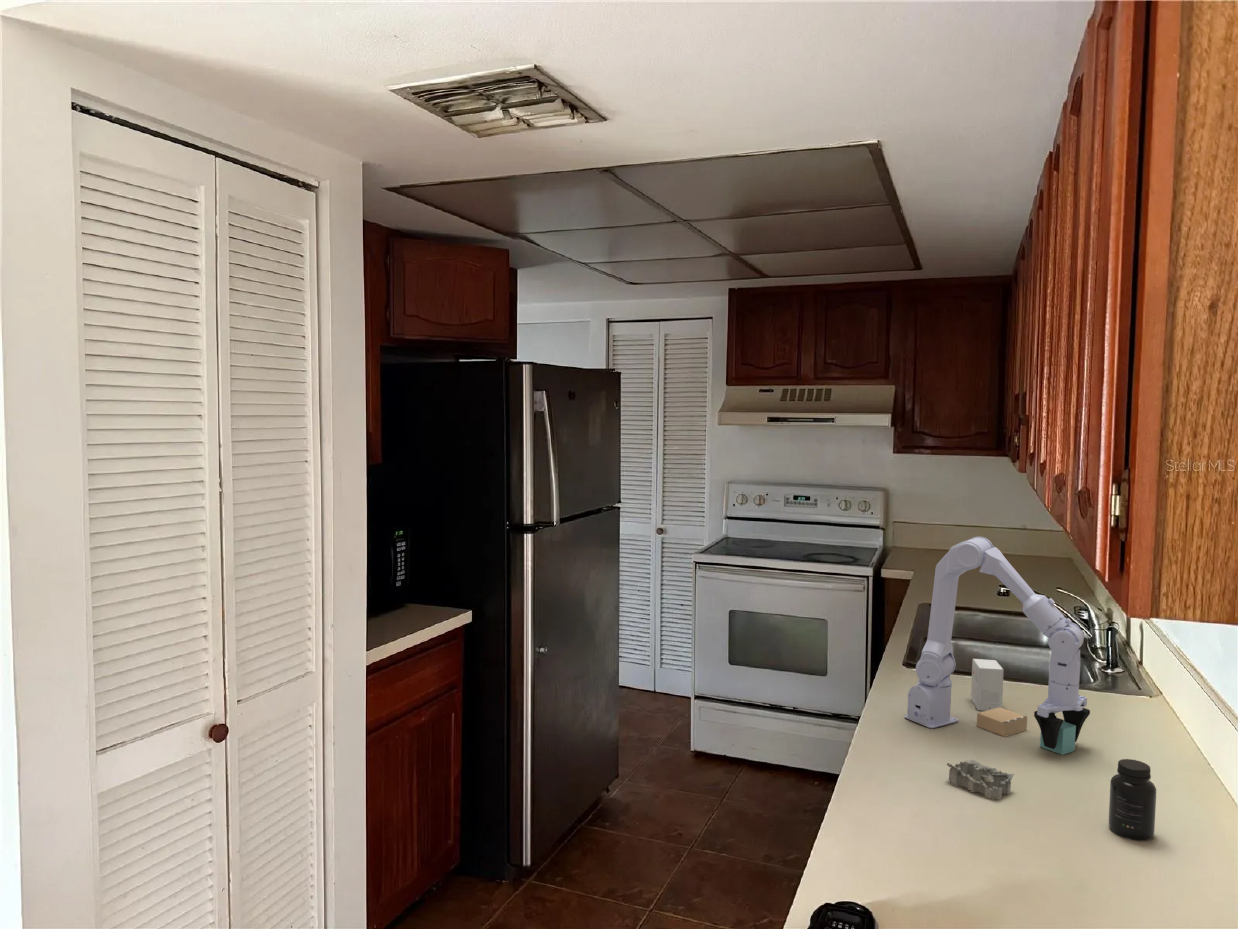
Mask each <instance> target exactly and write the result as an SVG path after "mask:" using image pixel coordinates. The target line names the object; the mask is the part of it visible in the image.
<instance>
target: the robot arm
mask: <svg viewBox="0 0 1238 929" xmlns="http://www.w3.org/2000/svg"><path fill="white" fill-rule="evenodd" d="M978 567H980V569H979V570H978V572H979V573H983V574H987V575H991V576H995V577H996V578H997V579H998V580H999V581H1000V582H1001V583H1002V584H1003V585H1004V586H1005V587H1006V588H1007V589H1008V590H1009V591H1010V592H1011V593H1012V594H1013V595H1014V596H1015V597H1016V598H1017V599H1018V600H1019V602H1021V603H1022V612H1023V614H1024V615H1025V616H1026V617H1027V618H1028V620H1030V621H1031V623H1033V625H1034V626H1035V627H1036V628H1037V629H1038V630H1039V632H1041V633H1042V635H1043V636H1045V637H1046V638H1047V645H1048V646H1049V649H1050V650H1051V651H1050V658H1049V671H1048V672H1049V673H1048V685H1047V686H1048V688H1047V689H1048V690H1047V698H1046V699H1045V700H1044V701H1043V702H1042V703H1041V704H1040V705H1037V710H1035V711H1034V712H1033V717H1034V719H1035V720H1036V722H1037V724H1038V726H1039V729H1040V734H1041V733H1042V737H1043V742H1044V746H1046V747H1048V748H1051V749H1055V747H1056V744H1057V738H1058V733H1059V730H1060V727H1061V725H1062V723H1063V722H1067V723H1070V724H1073V725H1076V733H1075V743H1077V741H1078V738H1079V735H1080V733H1081V729H1082V728H1083V726H1084V724H1085V722H1086V720H1087V718H1088V717H1089V716H1090V714H1091V710H1090V709H1088V708H1086V707H1087V705H1088V697H1086V696H1083V695H1082V694H1081V695H1080V694H1079V692H1080V689H1079V688H1080V676H1081V649H1080V648H1081V646H1082V645H1083V644H1084V639H1085V636H1084V633H1083V631H1082V629H1081V628H1080V626H1079V625H1078V624H1077V623H1074V622H1072V620H1071V619H1070V618H1069V617H1065V616H1064V615H1063V614H1062V612H1061V611H1060V610H1059V609H1058V608H1057V606H1055V605H1054V604H1056V602H1055V601H1054V599H1053V598H1051V597H1050V598H1048V597H1047V596H1046V595H1043V594H1037V593H1035V591H1034V590H1033V589H1032V588H1031V587H1030V586H1029V585H1028V583H1027V582H1026V580H1024V579H1023V577H1022V576H1021V575H1020V574H1019V573H1018V572H1017V570H1016V569H1015V568H1014V567H1013V565H1012V564H1011V563H1010V562H1009V560H1007V559H1006V557H1005V556H1004V555H1003V553H1002V552H1001V551H1000V549H999V548H997V547H996V546H994V545H993V543H992V541H990V540H989V539H988V538H986V537H983V536H974V537H971V538H969V539H967V540H964V541H961V542H959V543H957V544H955V545H952V546H951V547H950V548H949V550H948V552H947V553H946V554H945V555H943V557H942V558H941V559H940V561H938V563H936V565H935V570H934V571H935V572H934V579H933V589H932V594H931V595H932V598H931V603H930V604H931V605H930V613H929V614H930V615H929V620H928V621H929V623H928V631H927V638H926V642H925V644H924V646H923V648H922V650H921V656H920V658H919V660H918V661H917V663H916V665H915V673H916V676H917V678H918V680H917V683H916V684H915V685H912V687H910V689H909V690H908V694H907V710H906V714H905V715H903V717H904V718H905V719H908V720H910V721H912V722H914V723H917V724H919V725H922V726H924V727H927V728H929V729H935V728H939V727H942V726H947V725H951V724H954V723H958V722H959V718H956V717H955V716H954V717H953V716H951V709H952V708H951V706H952V705H951V704H952V679H951V674H953V673H954V671H955V669H956V660H955V657H954V645H953V643H952V637H953V628H954V620H955V612H956V611H955V610H956V602H957V597H958V596H957V595H958V594H957V593H958V587H959V580H960V579H959V578H960V576H961V575H963V574H965V573H966V572H967V571H971V570H975V569H977V568H978ZM1060 712H1062V716H1063V719H1062V718H1059V717H1057V715H1056V714H1057V713H1060Z"/></svg>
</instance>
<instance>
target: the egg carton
mask: <svg viewBox="0 0 1238 929" xmlns="http://www.w3.org/2000/svg"><path fill="white" fill-rule="evenodd" d="M946 766H948V767H949V768H950V769H949V771H948V772H949V773H948V781H949V780H950V781H949V782H950V783H951V785H953V784H954V785H953V786H955V785H961V787H965V788H967V791H968V790H970V791H969V792H971V791H973V792H972V793H980V792H981V793H980V794H983V795H984V797H985V798H986V797H987V798H986V799H991V800H992V799H996V800H1001V799H1002V796H1003V794H1004V795H1009V794H1011V792H1012V791H1011V787H1012V785H1011V784H1012V780H1013V777H1014V775H1015V773H1007V772H1002V771H1001V770H999V771H998V770H997V768H996V767H990V766H987V765H984V764H982V763H980V762H978V761H976V760H973V759H969V760H964V761H960V762H959V763H956V764H955V765H953V764H952V763H950V762H949V763H948V762H947V763H946ZM971 777H972V778H971ZM972 779H973V780H972ZM974 780H975V781H974Z"/></svg>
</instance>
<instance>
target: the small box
mask: <svg viewBox="0 0 1238 929" xmlns="http://www.w3.org/2000/svg"><path fill="white" fill-rule="evenodd" d="M971 664H972V666H971V691H970V692H971V693H970V700H971V701H972V703H973V705H974V706H975V708H976V709H977V711H981V712H984V711H988V710H991V709H995V708H999V707H1000V708H1003V697H1004V696H1003V692H1004V668H1003V667H1002V666H1001V664H999V662H998V661H997V660H995V659H984V658H983V659H982V658H972V663H971Z"/></svg>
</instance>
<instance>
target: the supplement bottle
mask: <svg viewBox="0 0 1238 929" xmlns="http://www.w3.org/2000/svg"><path fill="white" fill-rule="evenodd" d="M1117 762H1118V763H1117V769H1116V770H1117V771H1116V772H1117V773H1116V774H1114V775H1113V776H1112V777H1111V779H1110V781H1109V782H1110V786H1109V803H1108V804H1109V805H1108V826H1109V829H1110V830H1111V831H1112V832H1113V833H1114V834H1116V835H1118V836H1120V837H1122V838H1126V839H1128V838H1129V840H1133V841H1148V840H1151V839H1153V837H1154V835H1155V827H1156V807H1157V788H1156V786H1155V783H1153V781H1151V778H1152V774H1151V771H1152V770H1151V766H1150V765H1149V764H1147V763H1145V762H1143V761H1140V760H1136V759H1131V758H1124V759H1120V760H1118V761H1117Z"/></svg>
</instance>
